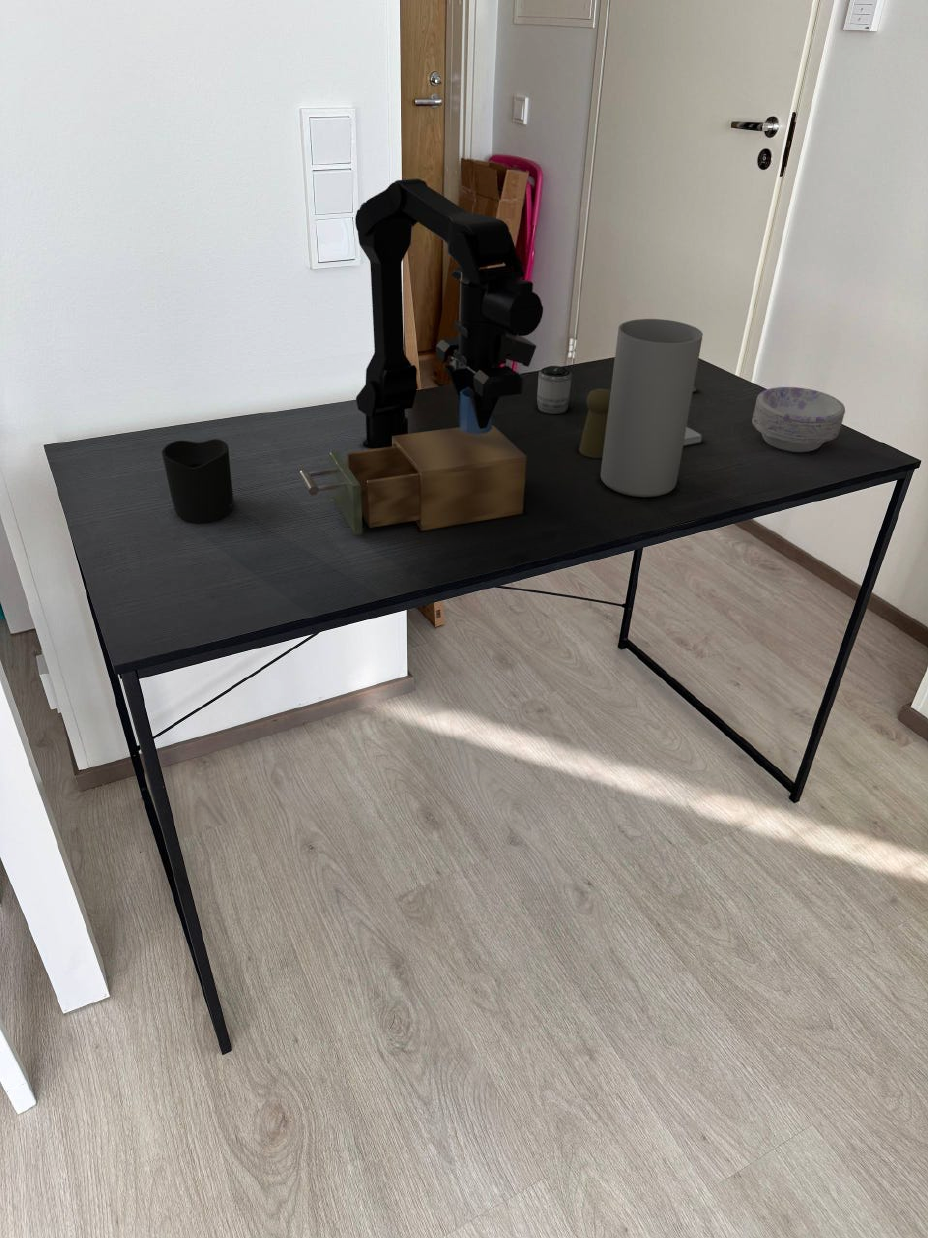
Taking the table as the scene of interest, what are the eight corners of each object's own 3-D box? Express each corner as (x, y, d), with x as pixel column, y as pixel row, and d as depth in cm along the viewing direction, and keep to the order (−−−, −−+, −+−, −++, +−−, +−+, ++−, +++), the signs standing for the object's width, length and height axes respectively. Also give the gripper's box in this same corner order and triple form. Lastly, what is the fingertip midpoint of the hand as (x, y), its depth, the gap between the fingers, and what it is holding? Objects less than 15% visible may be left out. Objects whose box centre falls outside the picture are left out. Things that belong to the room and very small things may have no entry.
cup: (455, 431, 135) (456, 396, 132) (465, 419, 139) (466, 385, 136) (486, 436, 134) (488, 400, 131) (495, 424, 138) (497, 389, 134)
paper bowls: (786, 465, 156) (797, 422, 152) (731, 432, 168) (739, 391, 163) (852, 452, 162) (865, 410, 157) (795, 421, 173) (805, 381, 169)
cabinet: (421, 531, 134) (421, 471, 128) (393, 492, 144) (391, 435, 138) (522, 513, 139) (526, 456, 133) (488, 477, 149) (490, 422, 144)
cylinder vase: (592, 491, 146) (610, 336, 132) (609, 461, 156) (627, 314, 142) (669, 504, 143) (696, 348, 129) (681, 473, 152) (707, 324, 138)
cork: (611, 459, 156) (619, 398, 150) (577, 456, 157) (583, 395, 151) (614, 446, 161) (621, 386, 155) (580, 442, 162) (586, 383, 156)
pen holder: (204, 531, 132) (194, 468, 126) (159, 514, 136) (148, 452, 130) (249, 506, 138) (241, 446, 133) (205, 491, 142) (196, 431, 137)
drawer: (317, 541, 128) (313, 491, 124) (297, 503, 138) (293, 456, 133) (454, 518, 135) (455, 470, 131) (425, 483, 145) (426, 438, 140)
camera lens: (570, 404, 178) (574, 365, 173) (566, 416, 172) (569, 376, 168) (538, 401, 179) (541, 362, 174) (533, 412, 174) (536, 372, 169)
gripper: (561, 330, 122) (551, 438, 131) (503, 294, 136) (498, 394, 145) (486, 338, 119) (482, 448, 127) (435, 300, 133) (434, 402, 142)
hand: (475, 421), depth 136 cm, fingers closed on cup, 5 cm apart
